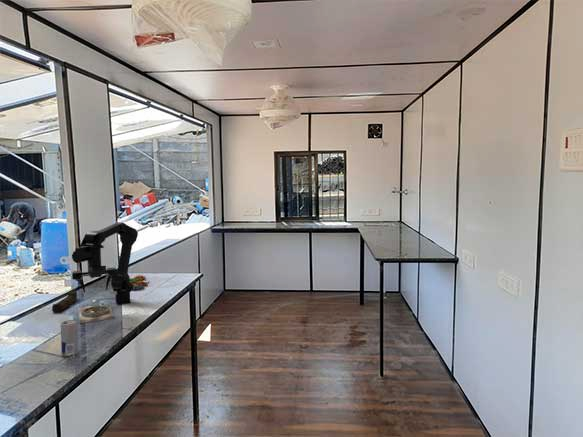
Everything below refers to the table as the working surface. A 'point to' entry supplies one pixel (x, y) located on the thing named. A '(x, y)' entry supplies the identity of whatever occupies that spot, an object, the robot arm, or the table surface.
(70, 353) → the energy drink
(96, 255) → the robot arm
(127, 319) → the table surface
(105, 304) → the gear board
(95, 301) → the bronze gear
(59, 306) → the hand tool
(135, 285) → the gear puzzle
